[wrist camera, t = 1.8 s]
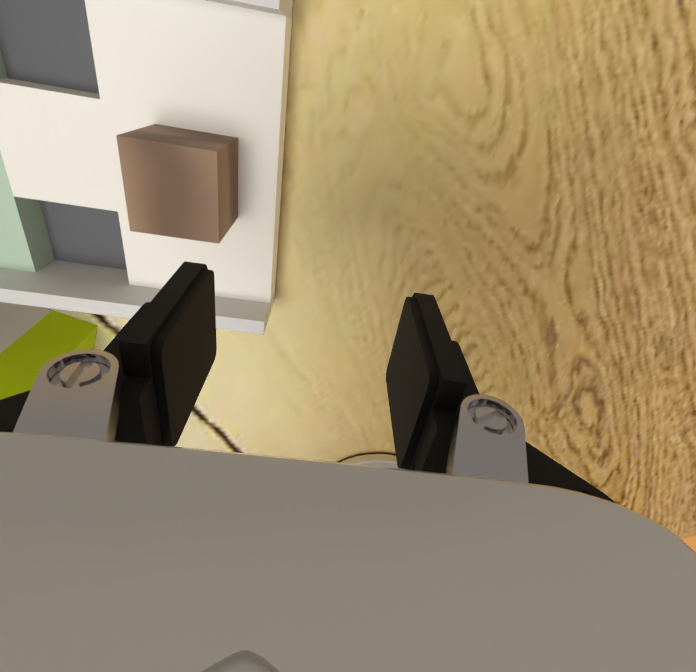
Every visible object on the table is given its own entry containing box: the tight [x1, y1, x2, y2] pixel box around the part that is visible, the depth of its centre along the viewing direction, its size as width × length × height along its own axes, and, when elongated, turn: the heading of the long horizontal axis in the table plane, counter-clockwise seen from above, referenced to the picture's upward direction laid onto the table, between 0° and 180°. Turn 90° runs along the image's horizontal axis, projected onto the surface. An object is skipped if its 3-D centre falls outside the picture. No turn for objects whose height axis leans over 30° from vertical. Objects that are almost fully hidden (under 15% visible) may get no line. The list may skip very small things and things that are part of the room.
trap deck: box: [0, 0, 293, 335], centre depth 23 cm, size 23×18×6 cm
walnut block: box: [116, 124, 238, 244], centre depth 22 cm, size 4×4×4 cm
